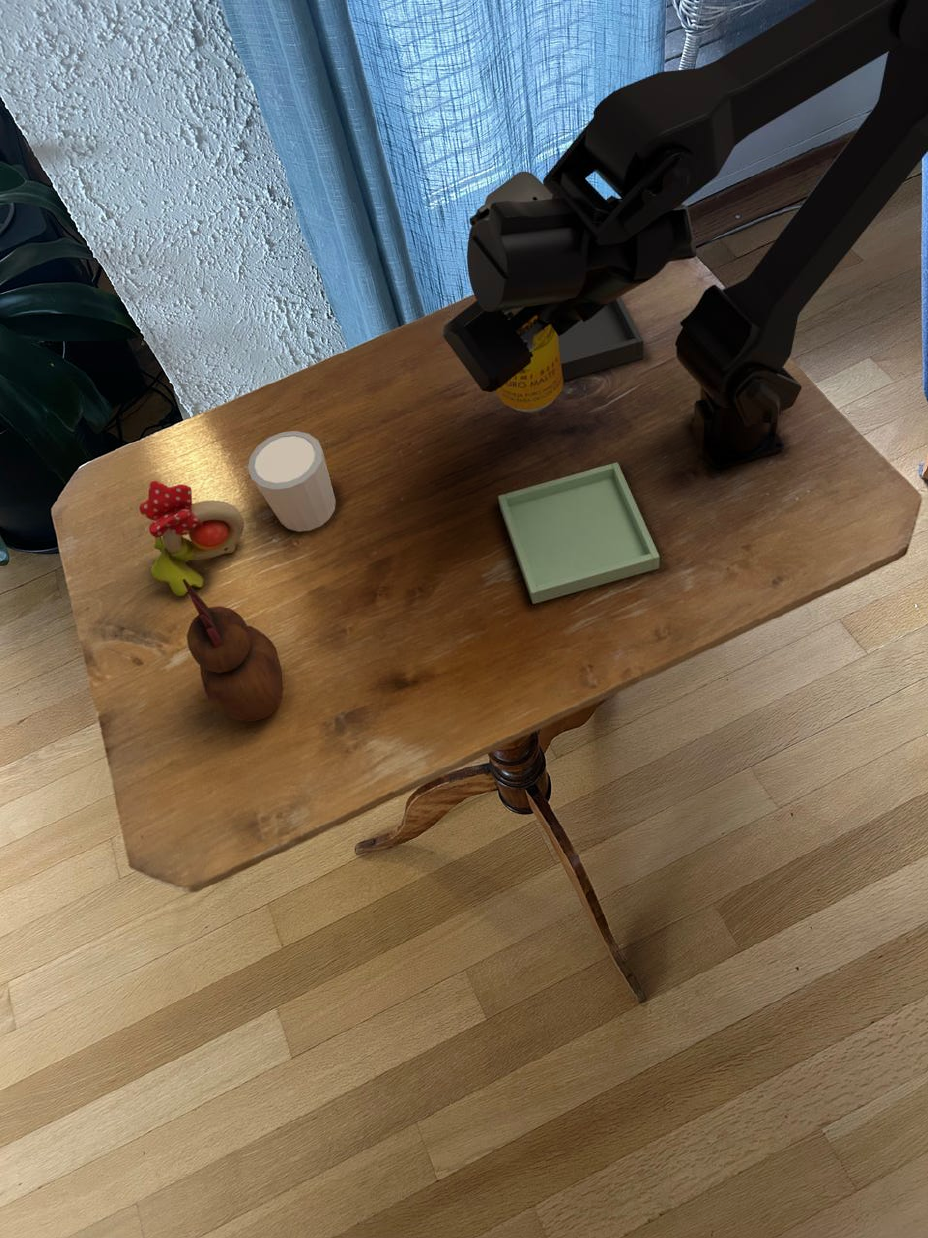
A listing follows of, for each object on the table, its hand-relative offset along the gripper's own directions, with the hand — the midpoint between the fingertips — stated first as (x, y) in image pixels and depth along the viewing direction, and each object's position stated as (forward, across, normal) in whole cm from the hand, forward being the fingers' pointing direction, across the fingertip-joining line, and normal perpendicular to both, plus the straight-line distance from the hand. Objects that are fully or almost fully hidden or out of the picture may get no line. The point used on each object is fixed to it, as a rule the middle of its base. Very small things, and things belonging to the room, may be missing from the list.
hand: (509, 320), depth 86 cm
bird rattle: (+16, +31, +1) cm, 35 cm away
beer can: (+4, 0, +6) cm, 8 cm away
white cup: (+14, +21, +3) cm, 26 cm away
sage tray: (-1, +7, +18) cm, 20 cm away
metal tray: (+12, -11, +6) cm, 17 cm away
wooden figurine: (+5, +37, +12) cm, 39 cm away
